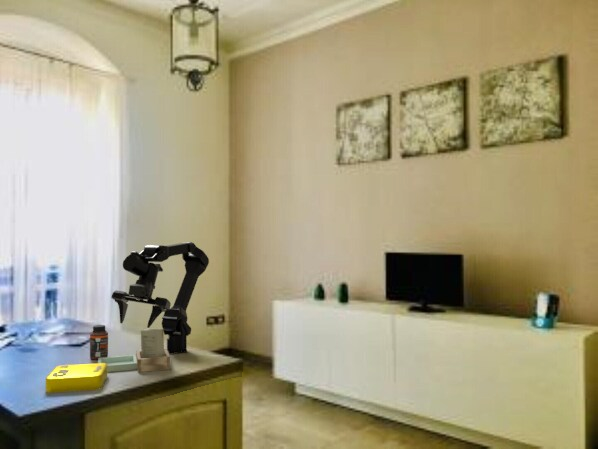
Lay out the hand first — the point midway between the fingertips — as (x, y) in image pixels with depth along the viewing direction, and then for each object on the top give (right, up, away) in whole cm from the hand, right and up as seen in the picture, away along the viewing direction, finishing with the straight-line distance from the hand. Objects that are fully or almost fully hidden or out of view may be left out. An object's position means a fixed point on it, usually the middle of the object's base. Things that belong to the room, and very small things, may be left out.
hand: (134, 325), depth 175 cm
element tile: (-11, -14, -19) cm, 26 cm away
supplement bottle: (-16, -14, +11) cm, 24 cm away
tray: (-6, -13, 0) cm, 15 cm away
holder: (+6, -13, 0) cm, 15 cm away
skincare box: (+6, -14, 0) cm, 15 cm away
